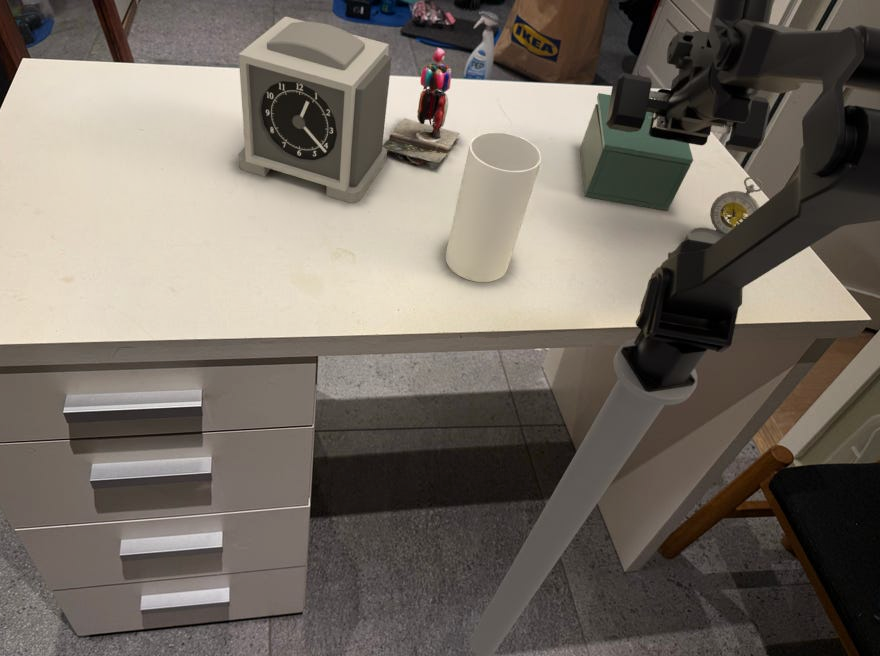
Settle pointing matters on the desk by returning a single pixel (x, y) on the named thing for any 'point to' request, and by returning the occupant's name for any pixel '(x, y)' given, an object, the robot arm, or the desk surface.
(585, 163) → the panel
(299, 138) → the alarm clock
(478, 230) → the cup
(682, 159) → the lid
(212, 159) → the desk surface
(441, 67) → the statue
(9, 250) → the desk surface
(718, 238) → the pocket watch
